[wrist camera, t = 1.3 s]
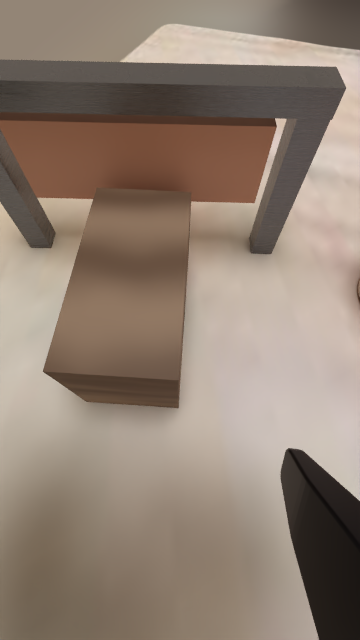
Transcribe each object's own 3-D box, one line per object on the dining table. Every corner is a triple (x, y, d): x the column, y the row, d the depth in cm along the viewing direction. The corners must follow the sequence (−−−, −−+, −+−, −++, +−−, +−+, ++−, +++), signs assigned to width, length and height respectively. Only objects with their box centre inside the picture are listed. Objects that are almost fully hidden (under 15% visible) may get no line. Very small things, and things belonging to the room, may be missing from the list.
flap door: (254, 202, 23) (276, 126, 18) (36, 197, 23) (-5, 120, 18) (253, 192, 24) (274, 116, 19) (40, 187, 24) (1, 109, 19)
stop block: (178, 408, 22) (178, 380, 14) (87, 401, 22) (42, 371, 15) (188, 261, 28) (191, 192, 21) (117, 257, 28) (96, 187, 21)
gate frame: (271, 255, 28) (346, 87, 16) (30, 248, 28) (-87, 78, 16) (268, 237, 29) (336, 67, 17) (36, 230, 29) (-68, 58, 17)
